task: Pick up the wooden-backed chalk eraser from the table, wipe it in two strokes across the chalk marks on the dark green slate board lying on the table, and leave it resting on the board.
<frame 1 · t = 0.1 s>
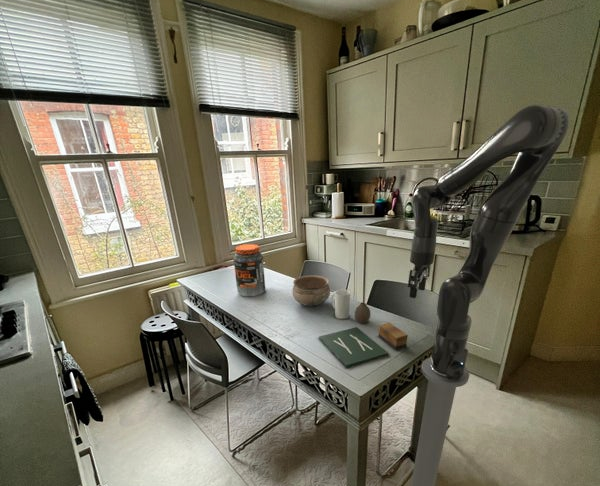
hand: (417, 293, 112), 22 cm above the table, tool pointing down, fingers open, 8 cm apart
supplement tub: (251, 292, 178), on the table
cooking pot: (311, 304, 161), on the table
vase: (362, 321, 142), on the table
eraser: (391, 341, 125), on the table
mug: (339, 315, 148), on the table
slate board: (351, 346, 123), on the table
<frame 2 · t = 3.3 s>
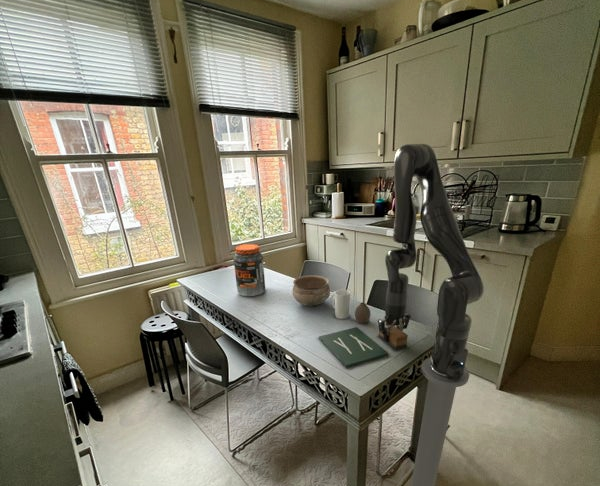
hand: (392, 339, 125), 1 cm above the table, tool pointing down, fingers closed on eraser, 5 cm apart
eraser: (391, 341, 125), on the table, touching gripper
everything else where it was.
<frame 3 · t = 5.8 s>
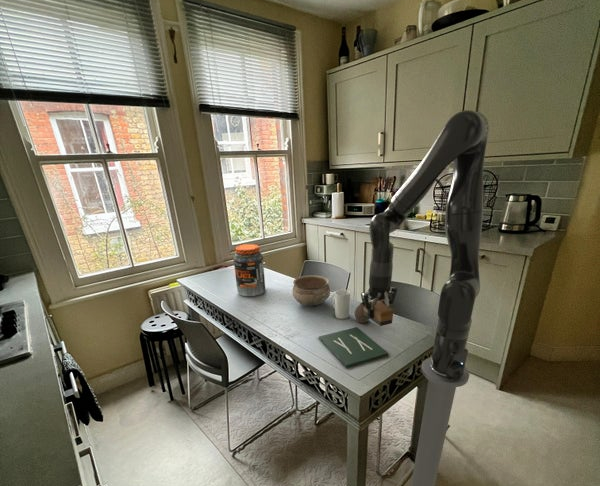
hand: (377, 316, 115), 14 cm above the table, tool pointing down, fingers closed on eraser, 5 cm apart
eraser: (377, 318, 116), point 13 cm above the table, touching gripper
everything else where it was.
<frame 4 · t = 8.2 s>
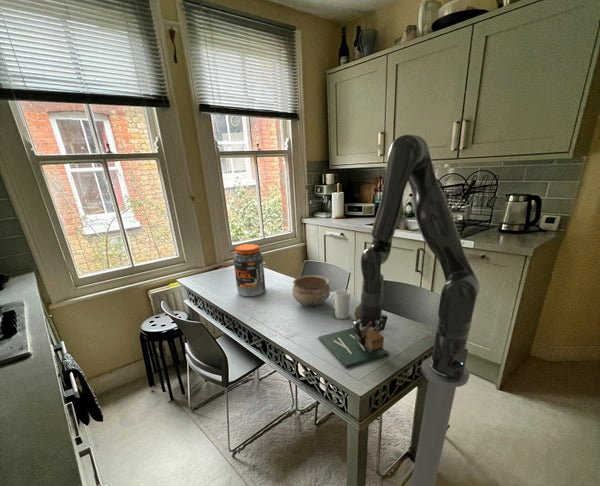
hand: (368, 342, 119), 4 cm above the table, tool pointing down, fingers closed on eraser, 5 cm apart
eraser: (368, 344, 119), point 3 cm above the table, touching gripper
everything else where it was.
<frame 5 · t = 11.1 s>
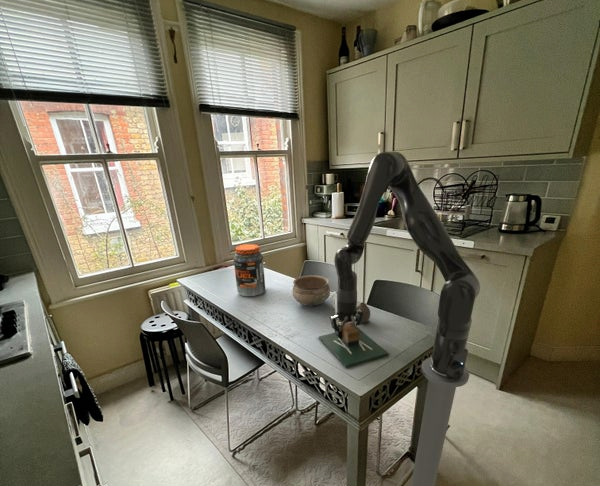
hand: (346, 336, 127), 2 cm above the table, tool pointing down, fingers closed on eraser, 5 cm apart
eraser: (346, 338, 127), point 1 cm above the table, touching gripper, slate board
everything else where it was.
when the fingers open (2 cm above the table, at t = 13.4 s): eraser moves 3 cm, resting on hand, slate board.
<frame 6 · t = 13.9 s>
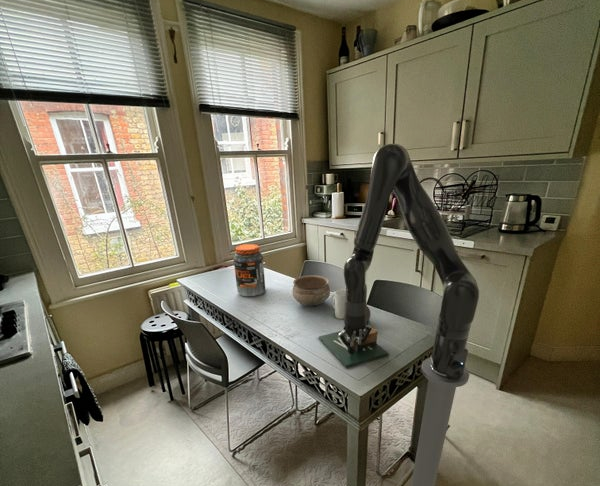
hand: (353, 352, 117), 2 cm above the table, tool pointing down, fingers closed
eraser: (361, 344, 122), point 1 cm above the table, touching hand, slate board
everything else where it was.
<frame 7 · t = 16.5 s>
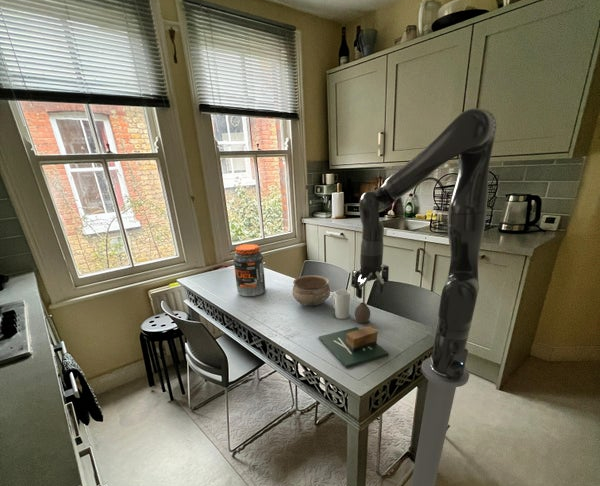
hand: (369, 295, 115), 21 cm above the table, tool pointing down, fingers open, 8 cm apart
eraser: (361, 344, 122), point 1 cm above the table, touching slate board
everything else where it was.
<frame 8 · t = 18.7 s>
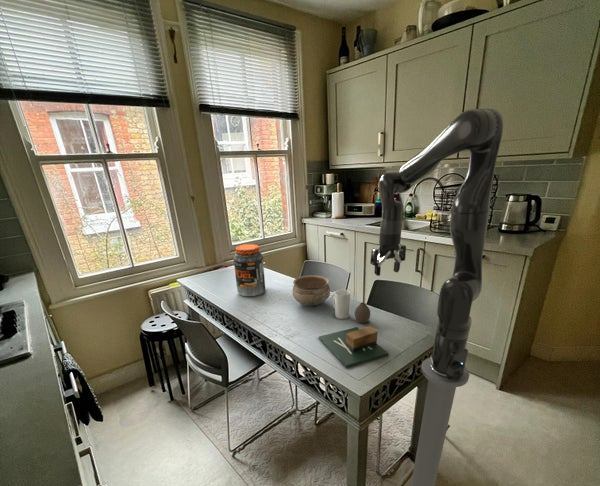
hand: (386, 273, 122), 26 cm above the table, tool pointing down, fingers open, 8 cm apart
nothing on the table moved.
at the end: eraser inside the target area on the slate board (3.6 cm from its centre), point 1.1 cm above the slate board's base; eraser moved 13.2 cm from its start; the gripper is holding nothing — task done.
